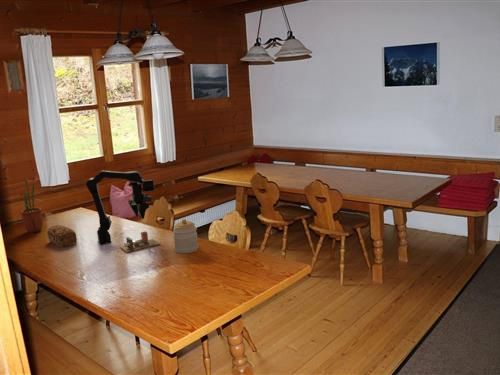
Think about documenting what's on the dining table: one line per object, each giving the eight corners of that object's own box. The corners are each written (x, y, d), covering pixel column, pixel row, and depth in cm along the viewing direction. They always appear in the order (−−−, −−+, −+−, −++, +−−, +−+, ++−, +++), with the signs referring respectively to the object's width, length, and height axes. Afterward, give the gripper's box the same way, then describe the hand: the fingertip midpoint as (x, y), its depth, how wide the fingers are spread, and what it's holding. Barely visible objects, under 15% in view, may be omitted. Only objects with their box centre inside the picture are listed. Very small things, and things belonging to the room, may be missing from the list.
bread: (48, 242, 298) (45, 227, 296) (64, 237, 306) (62, 222, 303) (61, 248, 285) (58, 232, 283) (78, 243, 292) (75, 227, 290)
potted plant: (24, 230, 328) (15, 180, 321) (48, 226, 334) (40, 177, 327) (24, 237, 312) (14, 184, 305) (49, 232, 319) (41, 181, 311)
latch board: (126, 253, 267) (125, 242, 266) (120, 248, 277) (119, 237, 275) (160, 245, 278) (159, 234, 276) (153, 240, 287) (152, 230, 285)
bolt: (125, 247, 271) (124, 237, 270) (124, 246, 273) (122, 236, 272) (148, 241, 278) (147, 232, 277) (146, 240, 280) (145, 231, 279)
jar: (194, 254, 259) (191, 222, 255) (171, 253, 262) (168, 222, 258) (201, 245, 271) (198, 215, 268) (179, 245, 274) (176, 216, 270)
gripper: (156, 192, 285) (158, 217, 288) (143, 187, 300) (146, 212, 303) (138, 195, 279) (141, 221, 282) (126, 190, 294) (129, 215, 297)
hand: (140, 217), depth 291 cm, fingers open, 9 cm apart
